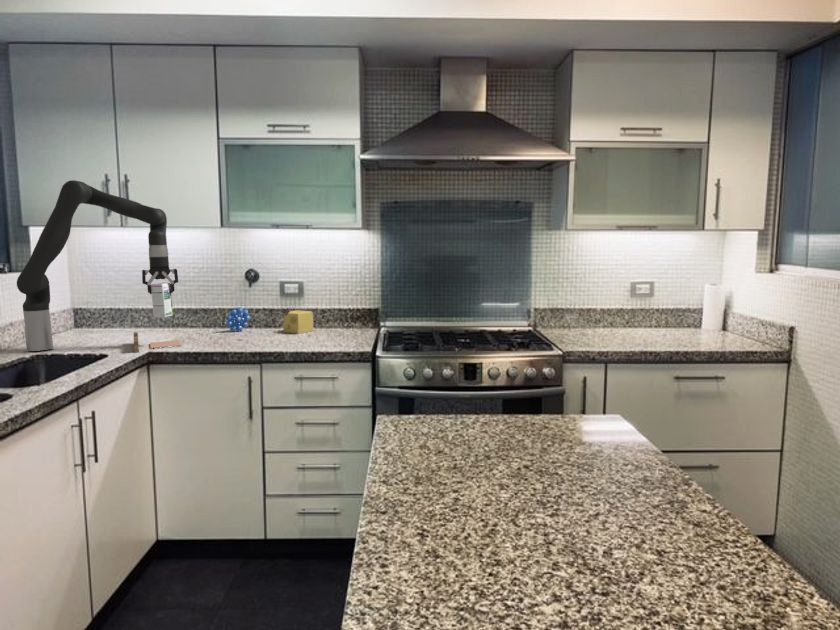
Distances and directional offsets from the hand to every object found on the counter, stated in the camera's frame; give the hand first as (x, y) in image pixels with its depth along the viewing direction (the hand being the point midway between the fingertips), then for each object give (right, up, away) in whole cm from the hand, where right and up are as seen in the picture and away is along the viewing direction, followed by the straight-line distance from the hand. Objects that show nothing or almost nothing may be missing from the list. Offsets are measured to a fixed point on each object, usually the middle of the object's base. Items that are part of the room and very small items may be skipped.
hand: (161, 293), depth 253 cm
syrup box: (0, -10, +2) cm, 10 cm away
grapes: (+22, -18, +37) cm, 46 cm away
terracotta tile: (0, -23, +3) cm, 23 cm away
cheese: (+52, -18, +35) cm, 65 cm away
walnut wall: (-10, -23, -1) cm, 25 cm away
